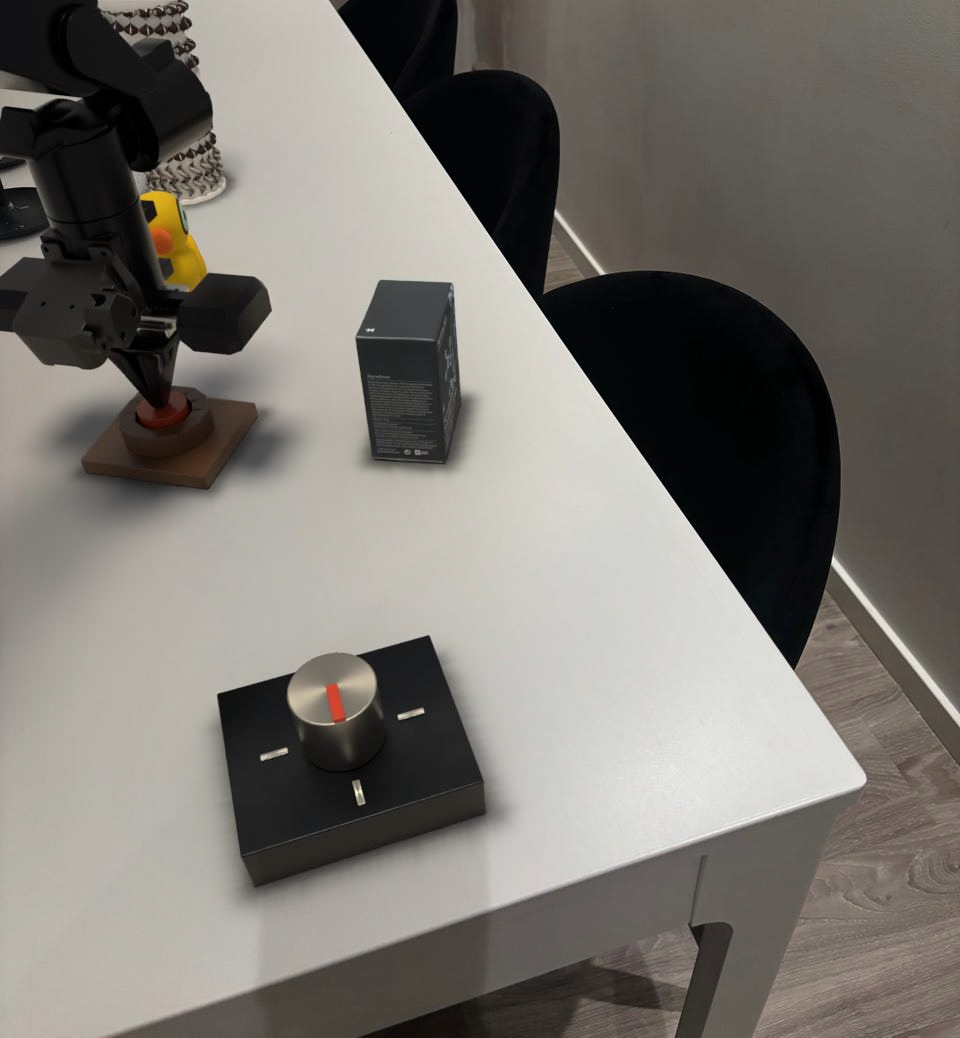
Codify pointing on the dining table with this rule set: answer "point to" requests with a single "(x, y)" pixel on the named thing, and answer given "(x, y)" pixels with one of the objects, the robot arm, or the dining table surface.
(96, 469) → the button block
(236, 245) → the dining table surface
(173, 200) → the duckling
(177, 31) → the decorative candle
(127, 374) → the robot arm
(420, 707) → the panel
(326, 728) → the knob
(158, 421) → the button
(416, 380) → the box
